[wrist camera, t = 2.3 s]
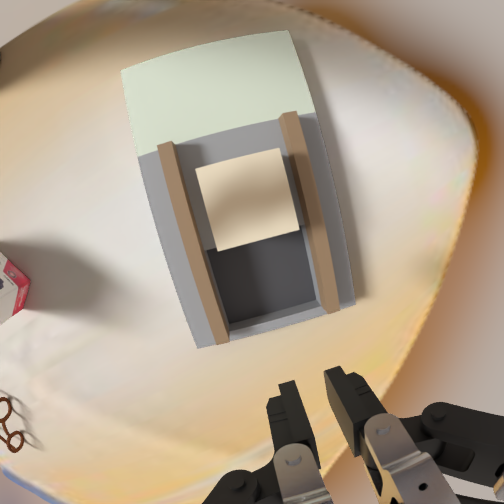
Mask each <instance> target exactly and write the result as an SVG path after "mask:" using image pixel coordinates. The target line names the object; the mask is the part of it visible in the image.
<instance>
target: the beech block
mask: <svg viewBox="0 0 504 504" xmlns="http://www.w3.org/2000/svg"><path fill="white" fill-rule="evenodd" d="M195 170H196V174H197V178H198V181H199V185H200V189H201V193H202V196H203V200H204V204H205V207H206V211H207V215H208V218H209V222H210V226H211V229H212V233H213V236H214V240H215V243H216V247H217V250H218V251H222V250H225V249H229V248H233V247H236V246H240V245H244V244H248V243H251V242H255V241H259V240H263V239H266V238H270V237H274V236H278V235H281V234H285V233H289V232H293V231H296V230H299V225H298V221H297V217H296V212H295V208H294V204H293V200H292V195H291V191H290V187H289V183H288V179H287V175H286V171H285V167H284V164H283V160H282V156H281V152H280V148H276V149H271V150H267V151H262V152H258V153H254V154H250V155H245V156H241V157H237V158H233V159H229V160H226V161H222V162H218V163H214V164H211V165H207V166H204V167H200V168H196V169H195Z"/></svg>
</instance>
